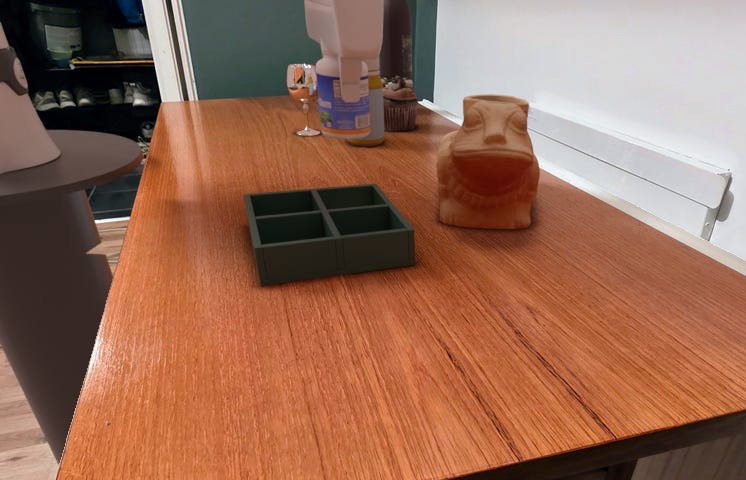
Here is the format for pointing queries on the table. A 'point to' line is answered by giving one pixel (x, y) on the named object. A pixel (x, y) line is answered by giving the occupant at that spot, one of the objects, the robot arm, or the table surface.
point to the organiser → (326, 233)
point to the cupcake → (399, 103)
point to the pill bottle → (341, 101)
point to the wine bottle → (396, 40)
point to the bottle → (373, 107)
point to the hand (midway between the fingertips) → (343, 95)
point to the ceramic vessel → (488, 166)
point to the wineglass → (303, 89)
